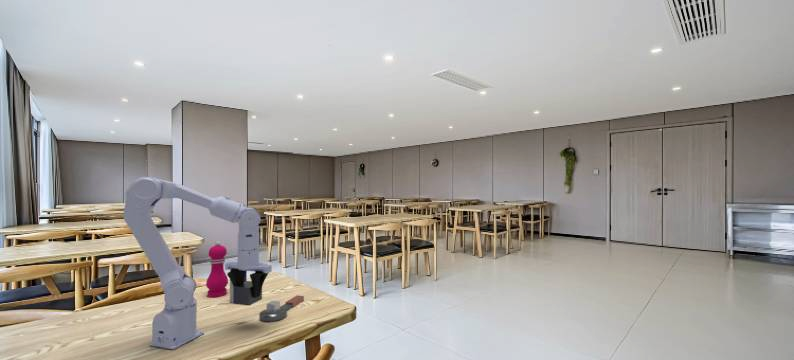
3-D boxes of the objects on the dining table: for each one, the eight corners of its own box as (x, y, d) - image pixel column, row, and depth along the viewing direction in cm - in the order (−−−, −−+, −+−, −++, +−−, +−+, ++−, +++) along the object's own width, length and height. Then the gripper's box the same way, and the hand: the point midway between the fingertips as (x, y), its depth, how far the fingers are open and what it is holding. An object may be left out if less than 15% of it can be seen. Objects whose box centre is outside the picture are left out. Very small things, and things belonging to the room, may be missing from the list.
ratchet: (276, 323, 97) (276, 308, 97) (253, 320, 99) (253, 305, 99) (310, 301, 116) (310, 288, 116) (290, 299, 118) (290, 286, 118)
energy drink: (249, 298, 119) (249, 265, 119) (240, 303, 113) (241, 268, 113) (235, 297, 119) (235, 264, 119) (226, 302, 114) (226, 268, 114)
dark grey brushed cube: (249, 305, 92) (249, 287, 92) (233, 303, 93) (233, 286, 93) (261, 299, 97) (262, 282, 97) (246, 297, 99) (246, 280, 99)
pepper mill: (208, 292, 125) (209, 240, 125) (229, 290, 127) (230, 239, 127) (203, 298, 118) (204, 243, 118) (225, 296, 120) (226, 242, 120)
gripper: (278, 247, 97) (277, 293, 97) (237, 245, 101) (237, 289, 101) (262, 252, 91) (262, 301, 90) (219, 249, 94) (219, 296, 94)
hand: (247, 295), depth 95 cm, fingers closed on dark grey brushed cube, 5 cm apart
